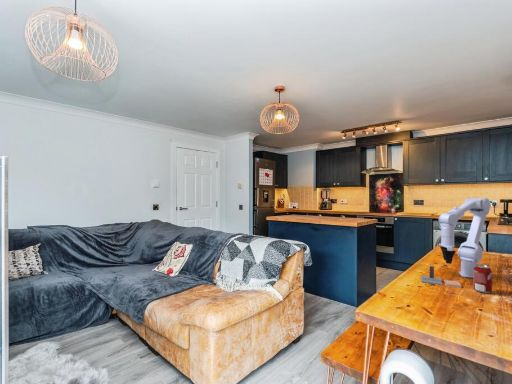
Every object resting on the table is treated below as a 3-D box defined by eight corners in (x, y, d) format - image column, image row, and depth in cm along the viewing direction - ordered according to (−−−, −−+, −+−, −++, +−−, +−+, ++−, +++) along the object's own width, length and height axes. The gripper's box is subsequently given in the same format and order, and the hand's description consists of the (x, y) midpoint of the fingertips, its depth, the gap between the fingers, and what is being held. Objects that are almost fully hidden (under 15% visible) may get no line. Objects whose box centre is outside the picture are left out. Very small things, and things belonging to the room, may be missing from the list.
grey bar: (422, 277, 146) (422, 264, 146) (440, 280, 143) (440, 266, 143) (422, 279, 144) (423, 266, 144) (441, 281, 140) (441, 268, 140)
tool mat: (420, 277, 149) (420, 276, 149) (440, 279, 145) (440, 278, 145) (421, 282, 141) (421, 281, 141) (442, 285, 137) (442, 284, 137)
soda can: (484, 294, 125) (485, 268, 124) (469, 289, 131) (469, 264, 131) (495, 293, 126) (495, 267, 126) (480, 288, 133) (480, 263, 133)
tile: (444, 279, 141) (446, 283, 135) (458, 281, 139) (461, 285, 133) (444, 282, 141) (446, 287, 135) (458, 284, 139) (461, 289, 133)
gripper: (436, 233, 154) (436, 257, 154) (440, 237, 141) (440, 264, 141) (452, 234, 150) (451, 259, 150) (457, 238, 137) (457, 265, 138)
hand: (447, 261), depth 145 cm, fingers open, 7 cm apart
